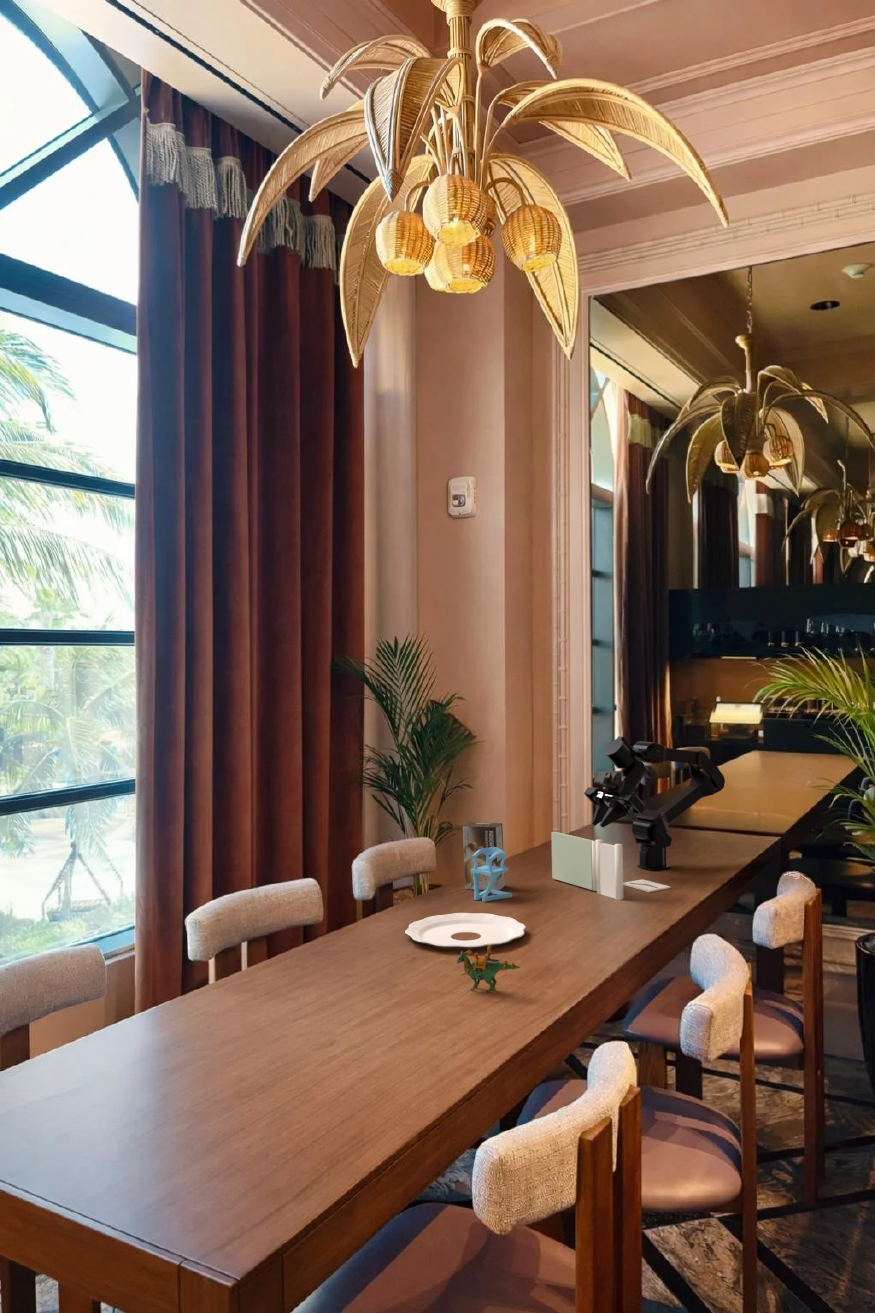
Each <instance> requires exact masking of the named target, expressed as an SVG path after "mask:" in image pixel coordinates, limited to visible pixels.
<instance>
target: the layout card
mask: <svg viewBox="0 0 875 1313" xmlns="http://www.w3.org/2000/svg"><path fill="white" fill-rule="evenodd" d="M623 886H625V887H629V888H632V889H633V888H634V889H637V890H639V891H643V892H647V893H652V892H657V891H663V890H668V889H671V886H669V885H666V884H662V883H659V882H654V881H650V880H647V879H642V878H641V879H638V880H637V879H636V880H630V881H626V882H624V881H623Z"/></svg>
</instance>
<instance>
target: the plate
mask: <svg viewBox="0 0 875 1313" xmlns="http://www.w3.org/2000/svg"><path fill="white" fill-rule="evenodd" d="M526 929H527V927H526V925H525V924H523V923H522V922H519V921H518V920H516V919H515V918H512V917H509V916H503V915H496V914H492V913H487V912H486V913H484V912H479V913H478V912H477V913H476V912H474V913H471V912H455V913H448V914H447V913H446V914H440V915H439V914H438V915H432V916H427V917H425V918H423V919H420V920H415V921H413V922H411V923H409V924H408V928H406V930H405V931H404V932H405V935H406V936H408V937H409V938H411V939H412V941H414V942H416V943H418V944H423V945H424V944H425V945H426V946H430V947H432V948H436V949H437V948H438V949H443V950H451V951H452V950H453V951H468V950H470V951H473V950H474V951H477V950H486V949H488V946H489V945H491V946H492V948H496V947H499V946H503V945H506V944H509V943H510V942H512V941H515V940H518V939H520V938H522V937H523V936H525V931H526ZM459 933H474V934H478V935H480V937H479V938H476V939H471V940H469V939H468V940H461V939H455V938H452V936H453V935H455V934H459Z"/></svg>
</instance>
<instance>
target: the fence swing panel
mask: <svg viewBox="0 0 875 1313" xmlns="http://www.w3.org/2000/svg"><path fill="white" fill-rule="evenodd" d="M550 834H551V835H550V836H551V841H550V842H551V874H552V876H551V877H552V879H554V880H557V881H560V882H564V883H567V884H571V885H573V886H576V887H581V888H584V889H586V890H590V891H595V892H597V878H596V840H593V839H589V838H585V837H584V838H583V837H579V836H575V835H571V834H567V833H562V832H559V831H551V833H550Z"/></svg>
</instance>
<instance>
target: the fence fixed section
mask: <svg viewBox="0 0 875 1313" xmlns="http://www.w3.org/2000/svg"><path fill="white" fill-rule="evenodd" d="M595 841H596V878H597V891H596V894H598V895H601V896H604V897H608V898H612V899H615V900H617V901H622V900H624V885H623V883H624V862H623V860H624V859H623V858H624V856H623V844H622V843H615V844H609V843H606V842H604V840H603V839H595Z"/></svg>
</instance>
